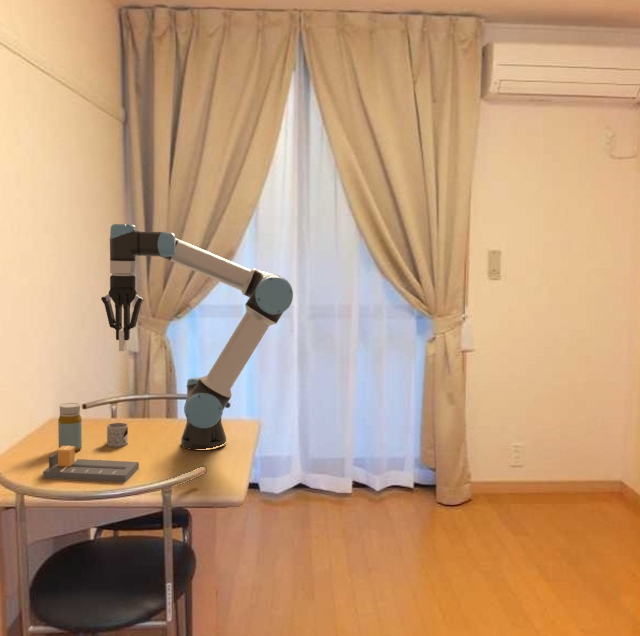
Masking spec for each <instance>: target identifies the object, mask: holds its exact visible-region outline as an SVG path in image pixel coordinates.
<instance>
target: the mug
mask: <svg viewBox="0 0 640 636" xmlns="http://www.w3.org/2000/svg"><path fill="white" fill-rule="evenodd" d="M128 430H129V425H128V423H126V422H113V423H109V424H107V425H106V446H107V447H109V448H123V447H126V446H128V445H129V443H128V441H129V435H128V434H129V431H128Z"/></svg>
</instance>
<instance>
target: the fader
mask: <svg viewBox="0 0 640 636" xmlns="http://www.w3.org/2000/svg"><path fill="white" fill-rule="evenodd" d="M56 451H57V452H56V453H58V466H68V467H70V466H71V465H72V464H74V463H75V459H76V458H75V457H76V456H75V455H76V454H75V453H76V452H75V446H62V447H60V448H59V447H58V448H57V449H56Z"/></svg>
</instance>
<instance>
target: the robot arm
mask: <svg viewBox="0 0 640 636" xmlns="http://www.w3.org/2000/svg"><path fill="white" fill-rule="evenodd" d="M109 230H110V234H109V273H110V274H111V275H110V276H109V288H110V289H109V291H108V294H106V295H105V296H102V297H101V302H102V303H103V305H104V308H105V312H106V316H107V321H108V325H109V327H110V328H111V329H114V330H115V339H116V341H118V352H125V351H127V342H128V341H129V340H130V339H131V338H130V337H131V336H130V330H131V329H134V328H136V326H137V322H138V318H139V314H140V310H141V305H142V304H143V302H144V301H145V298H144V297H141V296H140V295H138V292H137V290H136V275H135V274H136V257H137V256H139V257H141V256H142V257H144V256H145V257H160V258H163V259H165V260H167V261H170V262H173V263H175V264H177V265H180V266H183V267H185V268H187V269H189V270H192V271H194V272H196V273H199V274H201V275H204V276H206V277H208V278H211V279H212V280H215V281H218V282H220V283H223V284H225V285H227V286H229V287H231V288H235V289H236V290H238V291H241V293H242V295H243V296H246V297H247V298H248V299H247V301H246V303H245V309H246V311H245V313H244V315H243V317H242V318H241V320H240V322H239V323H238V325H237V327H236V328H235V329H234V331H233V333H232V334H231V336H230V337H229V339H228V341H227V343H226V344H225V346H224V348H223V349H222V351H221V352H220V354H219V355H218V357H217V358H216V360H215V362H214V364H213V366H212V367H211V369H210V370H209V372H208V374H207V375H204V376H201V377H192V378H191V377H190V378H188V379H187V383H186V399H185V403H184V407H183V413H184V415H185V417H186V424H185V427H184V429H183V431H182V432H183V433H182V435H181V439H180V444H181V446H182V447H183V446H184V447H186V448H185V449H187V448H190V449H189V450H191V449H206V448H213V447H216V446H220V445H222V444H224V443H225V442H226V443H227V436H226V435H227V434H226V433H225V430H224V426H223V423H222V416H223V414H224V413H223V412H224V410H225V408H226V406H227V404H229V402H230V400H231V398H232V391H231V389H232V388H233V386H234V384H235V383H236V381H237V379H238V378H239V376H240V375H241V373H242V371H243V370H244V368H245V366H246V364H247V363H248V362H249V359H251V356H252V355H253V354H254V352H255V350H256V348H257V347H258V345H259V344H260V342H261V340H262V338H263V337H264V335H265V334H266V333H267V331H268V329H269V327H270V326H272V325H277V324H278V322H279V320H280V319H281V317H282V315H283V314H284V312H286V311H287V310H288V309H289V308H290V306H291V305H292V302H293V299H294V291H293V288H292V285H291V284H290V282H289V281H288V280H287V279H286V278H285V277H282V276H280V275H278V274H276V273H269V272H266V271H262V270H260V269H257V268H255V267H254V268H250V269H249V268H246V267H244V266H242V265H240V264H238V263H235V262H233V261H230V260H228V259H225V258H223V257H221V256H219V255H216V254H214V253H211V252H210V251H207V250H205V249H202V248H200V247H197V246H195V245H192V244H190V243H188V242H187V241H183V240H182V239H181V240H180V239H178V238H176V235H175V233H173V232H169V231H168V232H167V231H139V230H137V227H136V225H134V224H129V223H128V224H127V223H123V224H121V223H113V224H112V225H110V229H109ZM111 301H113V303H114V308H115V310H114V311H115V313H114V311H113V306H112V302H111ZM133 301H134V303H135V304H134V306H133V310H132V315H131V307H132V305H131V304H132V303H133ZM184 447H183V448H184Z"/></svg>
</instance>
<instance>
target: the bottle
mask: <svg viewBox="0 0 640 636" xmlns="http://www.w3.org/2000/svg"><path fill="white" fill-rule="evenodd" d="M80 404H81V403H79V402H67V403H61V404H60V405H59V417H58V422H57V423H58V424H57V425H58V426H57V427H58V431H57V432H58V449H59V448H60V447H62V446H75V453H77V452H80V451H81V449H82V448H83V447H82V446H83V445H82V444H83V441H82V440H83V438H82V437H83V435H82V434H83V433H82V428H83V427H82V425H83V424H82V416H81V405H80Z"/></svg>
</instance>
